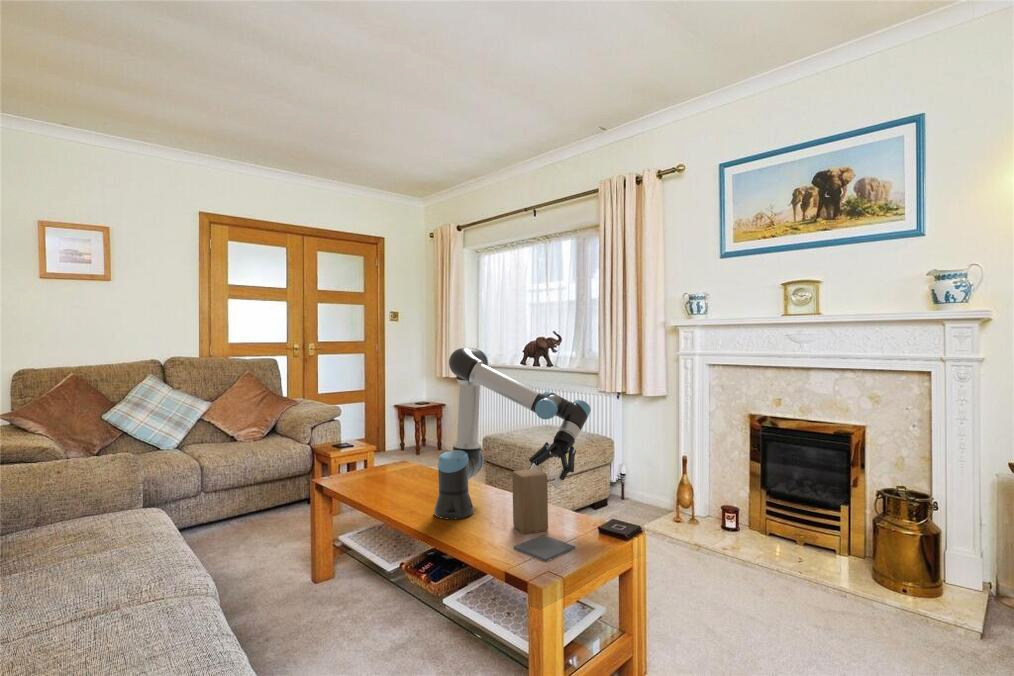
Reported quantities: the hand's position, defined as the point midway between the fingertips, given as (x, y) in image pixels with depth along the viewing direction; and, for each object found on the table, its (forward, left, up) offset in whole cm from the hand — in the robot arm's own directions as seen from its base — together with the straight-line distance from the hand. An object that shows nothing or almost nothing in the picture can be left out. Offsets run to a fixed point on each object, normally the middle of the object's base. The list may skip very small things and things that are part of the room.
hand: (540, 483), depth 184 cm
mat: (+15, -15, -15) cm, 26 cm away
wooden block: (-1, -5, -16) cm, 16 cm away
